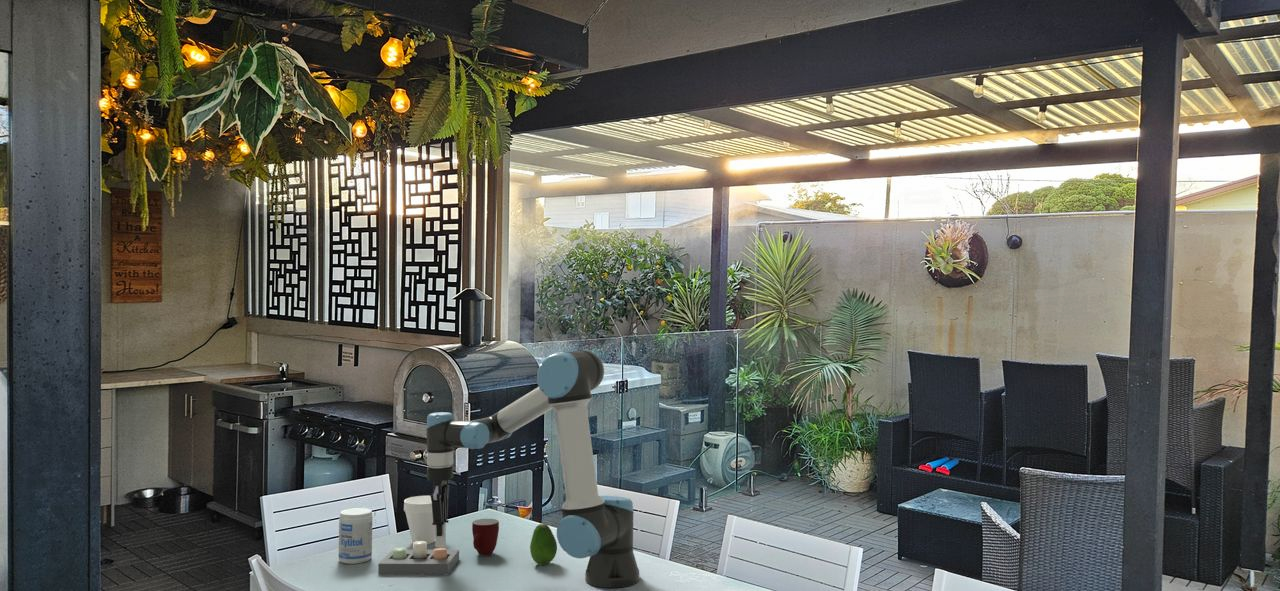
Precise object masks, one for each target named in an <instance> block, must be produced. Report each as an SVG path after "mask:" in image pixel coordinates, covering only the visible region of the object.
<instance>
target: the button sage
mask: <svg viewBox="0 0 1280 591" xmlns="http://www.w3.org/2000/svg"><path fill="white" fill-rule="evenodd" d="M392 550H393V559H406V558H407V550H408V548H406V547H395V548H393V549H392Z"/></svg>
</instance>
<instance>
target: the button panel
mask: <svg viewBox="0 0 1280 591" xmlns="http://www.w3.org/2000/svg"><path fill="white" fill-rule="evenodd" d="M459 561H460V549H447V559H433V549H427V557H425V558H419V559H417V558H413V549H407V558H406V559H393V549H392V550H391V551H390V552H389V553H388V554H386V555H385V557H384V558H382V559H381V560H380V561H379V562H378V564H377V565H378V566H377V568H378V571H377V572H378V575H449V574H450V572H451V571H452V569H453V570H454V567H455V566H456V564H458V562H459Z"/></svg>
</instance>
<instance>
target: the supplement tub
mask: <svg viewBox="0 0 1280 591" xmlns="http://www.w3.org/2000/svg"><path fill="white" fill-rule="evenodd" d="M338 518H339V519H338V521H339V522H338V560H339V562H340V563H343V564H348V565H349V564H350V565H351V564H352V565H355V564H363V563H365V562H368V561H369V560H371V559H372V555H373V554H372V551H373V510H372V509H370V508H367V507H355V508H354V507H353V508H346V509H344V510H341V511H340V512H339V517H338Z"/></svg>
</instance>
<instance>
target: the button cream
mask: <svg viewBox="0 0 1280 591" xmlns="http://www.w3.org/2000/svg"><path fill="white" fill-rule="evenodd" d="M427 545H428V544H427V542H426V541H416V542H414V543H413V542H412V550H413V558H417V559H419V558H425V557H427V550H428V546H427Z"/></svg>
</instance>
